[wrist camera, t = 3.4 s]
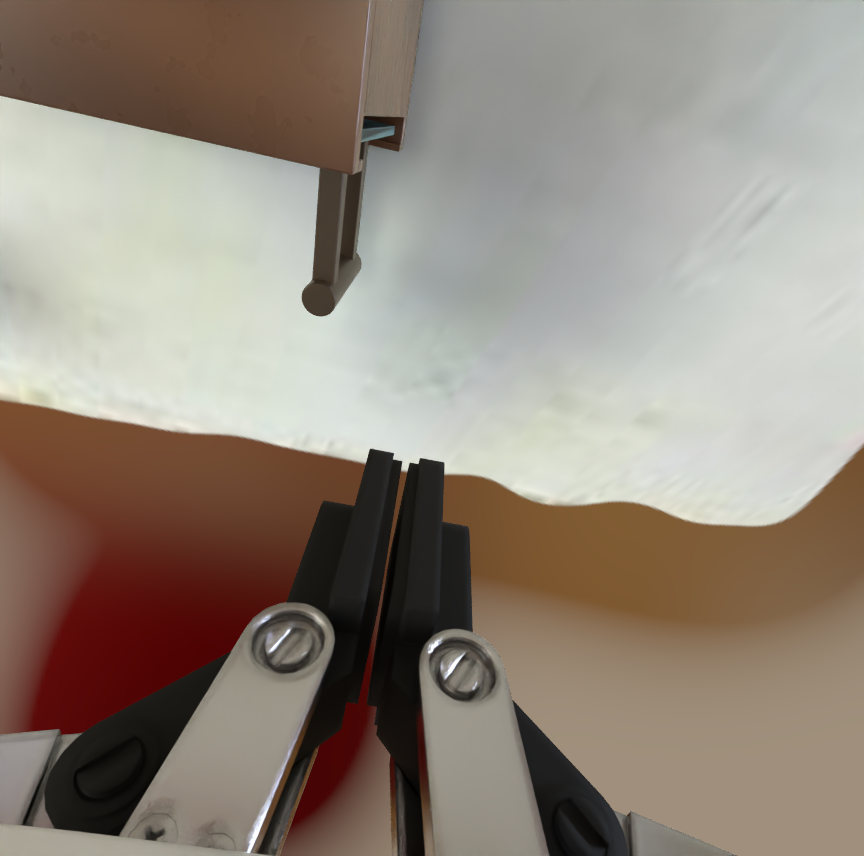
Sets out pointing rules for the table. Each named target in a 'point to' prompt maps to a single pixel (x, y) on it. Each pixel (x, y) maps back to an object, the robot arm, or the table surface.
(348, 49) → the cabinet
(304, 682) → the robot arm
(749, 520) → the table surface
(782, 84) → the table surface
